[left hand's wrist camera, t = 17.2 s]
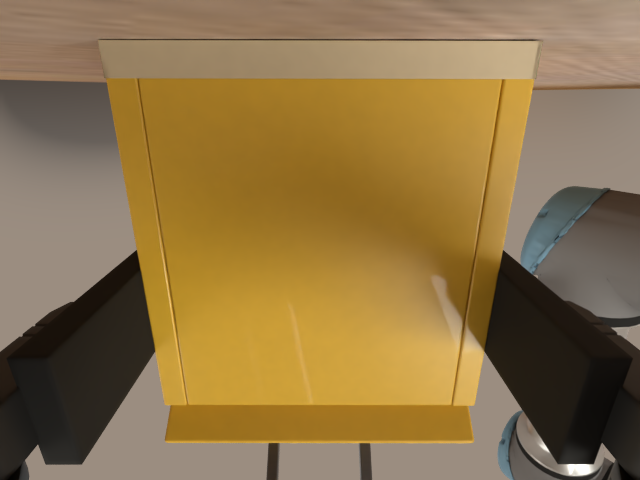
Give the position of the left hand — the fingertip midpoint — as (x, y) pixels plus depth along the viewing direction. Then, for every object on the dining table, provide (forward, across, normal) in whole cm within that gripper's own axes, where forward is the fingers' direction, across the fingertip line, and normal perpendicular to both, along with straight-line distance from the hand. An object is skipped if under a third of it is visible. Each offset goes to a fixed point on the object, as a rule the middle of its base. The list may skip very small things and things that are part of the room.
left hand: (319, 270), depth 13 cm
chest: (+6, 0, -7) cm, 9 cm away
